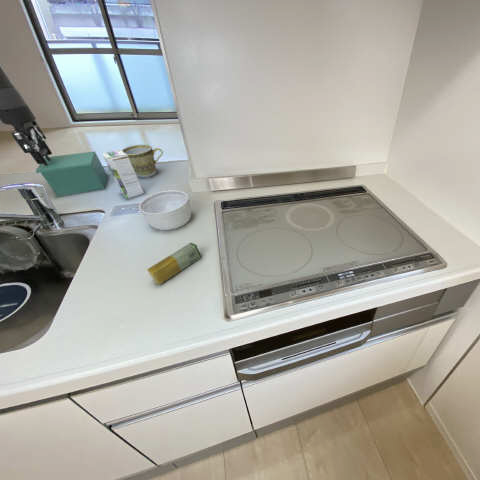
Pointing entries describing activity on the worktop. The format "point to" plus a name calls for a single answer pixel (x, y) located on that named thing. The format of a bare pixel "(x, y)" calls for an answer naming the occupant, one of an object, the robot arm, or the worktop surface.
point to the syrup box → (123, 173)
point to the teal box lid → (65, 161)
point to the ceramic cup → (142, 159)
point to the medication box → (174, 263)
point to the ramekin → (166, 209)
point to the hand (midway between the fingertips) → (45, 158)
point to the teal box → (77, 179)
